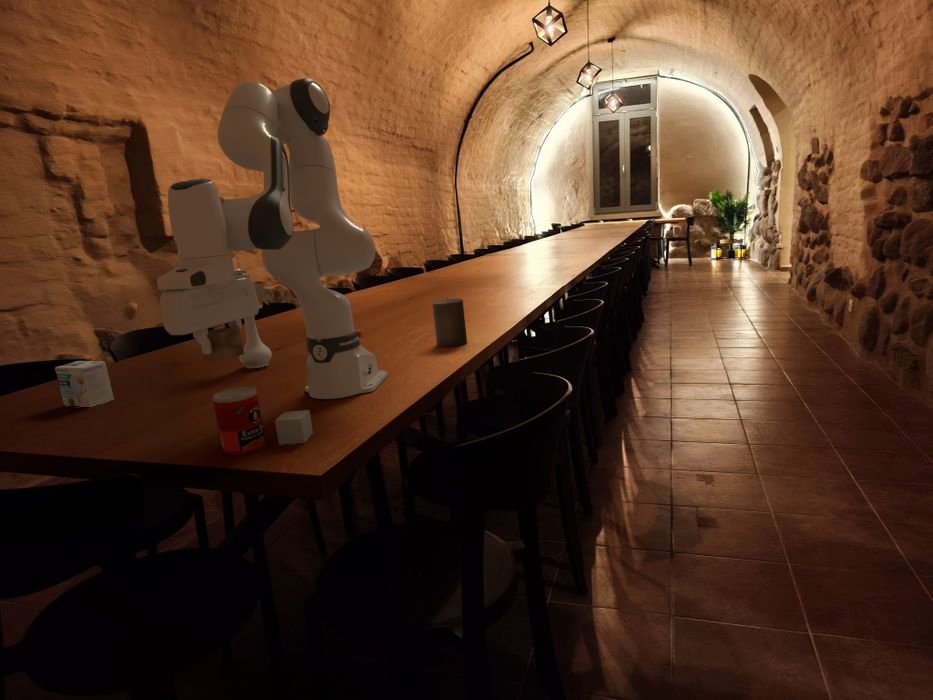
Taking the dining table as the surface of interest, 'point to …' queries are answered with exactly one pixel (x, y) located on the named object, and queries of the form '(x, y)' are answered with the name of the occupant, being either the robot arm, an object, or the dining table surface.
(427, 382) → the dining table surface
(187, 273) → the robot arm
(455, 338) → the pillar candle
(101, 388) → the light bulb box
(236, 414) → the canned food
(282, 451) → the dining table surface
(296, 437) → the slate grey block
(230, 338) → the walnut block
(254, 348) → the flower vase
